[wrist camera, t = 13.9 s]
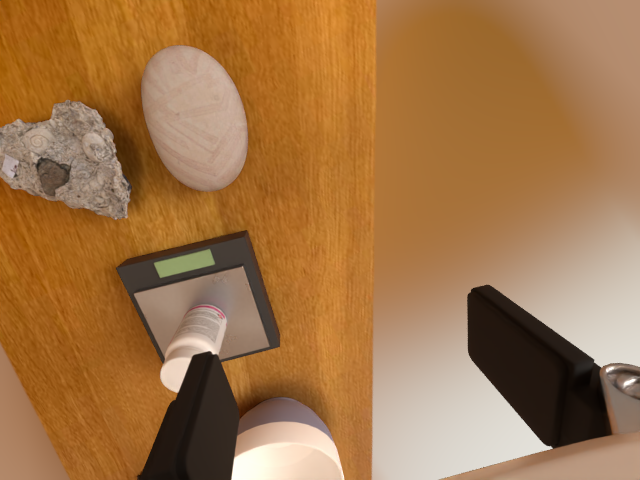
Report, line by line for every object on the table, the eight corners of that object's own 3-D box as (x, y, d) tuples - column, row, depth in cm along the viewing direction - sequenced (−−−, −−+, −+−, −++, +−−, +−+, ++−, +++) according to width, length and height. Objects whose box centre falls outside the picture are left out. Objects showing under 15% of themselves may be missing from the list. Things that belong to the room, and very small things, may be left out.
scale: (126, 259, 34) (114, 269, 32) (247, 230, 35) (244, 237, 32) (175, 362, 39) (168, 377, 37) (279, 334, 40) (280, 348, 37)
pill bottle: (177, 308, 33) (145, 361, 26) (219, 298, 34) (201, 347, 26) (192, 343, 35) (166, 402, 27) (232, 333, 35) (219, 389, 27)
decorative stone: (256, 184, 33) (253, 191, 29) (173, 190, 33) (155, 199, 28) (240, 52, 29) (232, 35, 25) (143, 55, 28) (116, 38, 24)
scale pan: (136, 290, 33) (133, 293, 32) (244, 263, 34) (243, 266, 33) (173, 367, 37) (171, 372, 36) (270, 342, 37) (269, 346, 37)
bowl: (213, 387, 41) (195, 456, 32) (327, 369, 43) (340, 431, 34) (233, 468, 47) (221, 546, 38) (334, 449, 48) (347, 521, 39)
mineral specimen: (145, 215, 34) (15, 206, 31) (141, 112, 31) (-2, 92, 28) (124, 229, 28) (-37, 219, 25) (117, 104, 25) (-65, 78, 22)
